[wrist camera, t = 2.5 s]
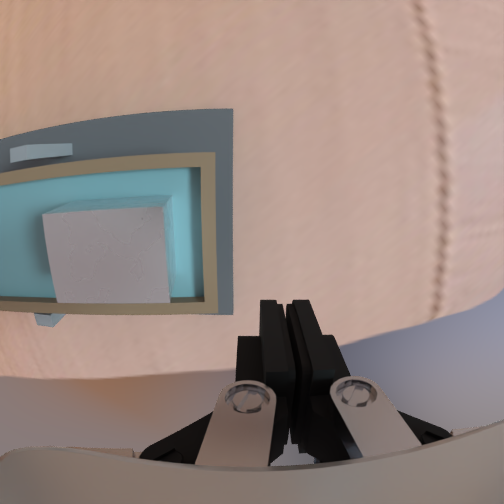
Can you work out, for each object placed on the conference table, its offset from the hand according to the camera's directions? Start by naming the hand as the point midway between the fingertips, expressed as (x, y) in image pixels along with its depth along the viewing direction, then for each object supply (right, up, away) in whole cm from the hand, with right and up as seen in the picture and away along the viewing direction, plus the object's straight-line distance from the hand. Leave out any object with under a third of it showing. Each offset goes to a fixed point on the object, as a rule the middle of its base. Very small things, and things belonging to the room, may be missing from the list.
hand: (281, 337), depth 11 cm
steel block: (-11, +4, +12) cm, 16 cm away
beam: (-20, +4, +12) cm, 24 cm away
